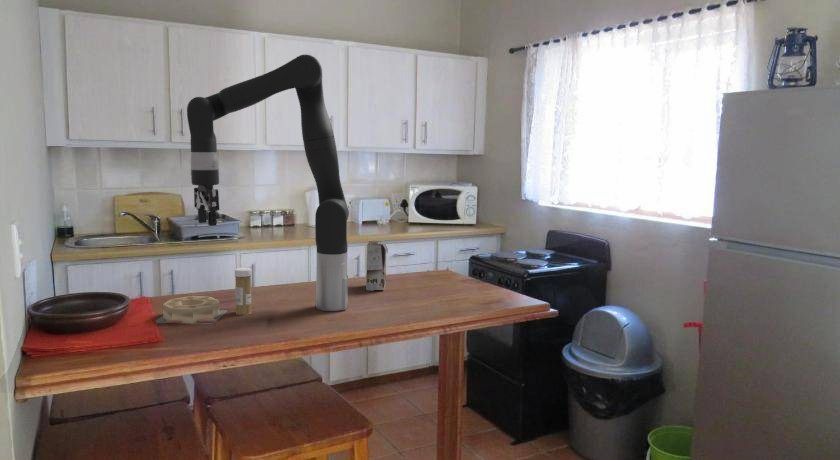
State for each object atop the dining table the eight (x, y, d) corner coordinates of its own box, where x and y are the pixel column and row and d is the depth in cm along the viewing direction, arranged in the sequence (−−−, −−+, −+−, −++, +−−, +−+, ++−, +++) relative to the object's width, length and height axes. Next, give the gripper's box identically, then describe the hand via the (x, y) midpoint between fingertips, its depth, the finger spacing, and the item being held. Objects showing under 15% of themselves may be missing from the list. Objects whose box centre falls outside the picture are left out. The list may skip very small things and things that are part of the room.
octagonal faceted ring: (223, 310, 174) (223, 297, 174) (208, 323, 161) (207, 309, 160) (176, 309, 174) (176, 295, 174) (157, 322, 161) (156, 308, 160)
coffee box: (384, 291, 207) (385, 245, 204) (365, 290, 207) (366, 244, 204) (386, 285, 216) (387, 241, 213) (368, 284, 216) (369, 240, 214)
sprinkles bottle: (253, 315, 172) (253, 269, 170) (237, 317, 170) (237, 270, 168) (248, 311, 176) (248, 266, 174) (233, 313, 173) (232, 268, 172)
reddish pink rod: (214, 321, 163) (214, 318, 163) (214, 322, 162) (214, 319, 162) (166, 322, 161) (166, 319, 161) (165, 323, 160) (165, 320, 160)
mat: (228, 312, 175) (228, 310, 175) (212, 326, 161) (212, 324, 161) (172, 310, 174) (172, 308, 174) (152, 324, 160) (152, 322, 160)
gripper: (226, 168, 169) (228, 225, 171) (209, 167, 180) (211, 221, 183) (199, 169, 165) (202, 227, 167) (183, 168, 176) (186, 222, 178)
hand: (207, 224), depth 175 cm, fingers open, 8 cm apart
